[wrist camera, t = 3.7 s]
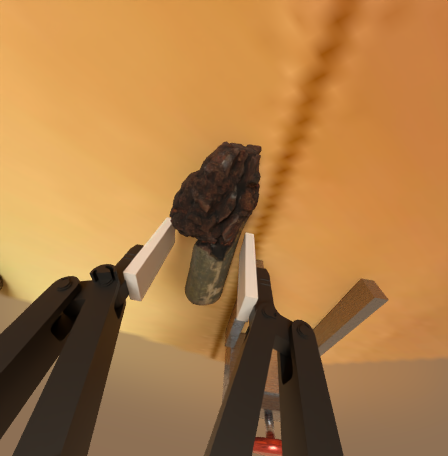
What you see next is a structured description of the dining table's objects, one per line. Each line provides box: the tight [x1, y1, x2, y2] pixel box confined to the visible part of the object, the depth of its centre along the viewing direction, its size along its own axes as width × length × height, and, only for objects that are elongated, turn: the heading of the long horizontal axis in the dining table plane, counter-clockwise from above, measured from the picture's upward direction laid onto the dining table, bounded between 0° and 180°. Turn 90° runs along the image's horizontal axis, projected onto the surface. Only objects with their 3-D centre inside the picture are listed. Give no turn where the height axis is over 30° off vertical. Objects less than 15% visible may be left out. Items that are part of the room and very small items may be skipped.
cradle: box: [222, 260, 388, 456], centre depth 22 cm, size 15×24×12 cm, turn 171°
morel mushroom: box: [170, 142, 261, 305], centre depth 16 cm, size 18×7×6 cm, turn 167°
